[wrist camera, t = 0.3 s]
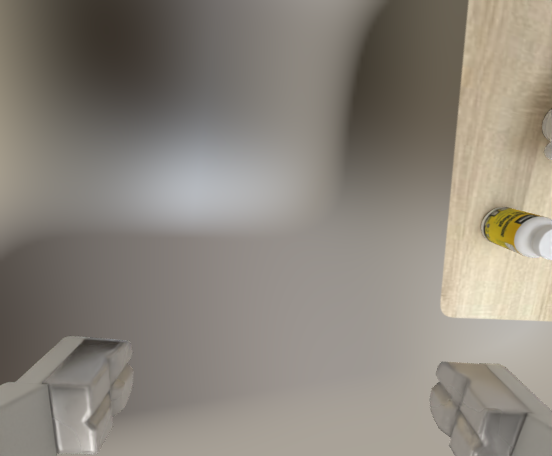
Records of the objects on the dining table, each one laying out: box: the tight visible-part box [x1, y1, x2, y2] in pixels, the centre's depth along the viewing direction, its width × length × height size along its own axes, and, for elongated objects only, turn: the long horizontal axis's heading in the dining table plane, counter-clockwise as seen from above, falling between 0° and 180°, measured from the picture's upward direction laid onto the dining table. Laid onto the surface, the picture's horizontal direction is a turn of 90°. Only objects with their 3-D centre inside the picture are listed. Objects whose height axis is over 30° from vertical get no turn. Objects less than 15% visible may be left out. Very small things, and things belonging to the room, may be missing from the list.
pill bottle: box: [481, 207, 552, 260], centre depth 46 cm, size 6×6×11 cm
